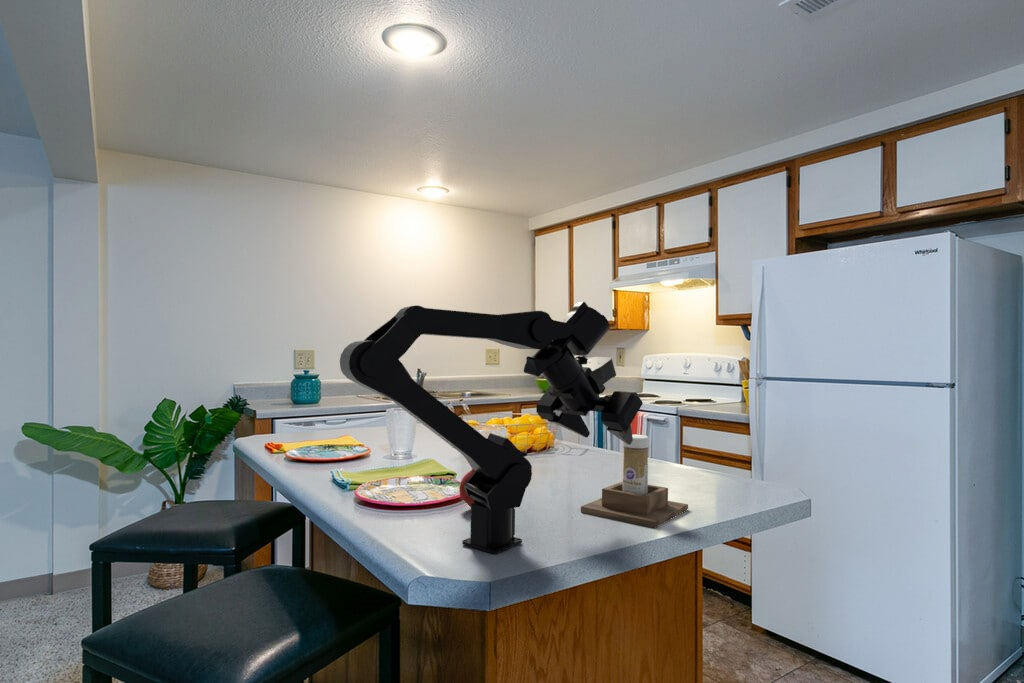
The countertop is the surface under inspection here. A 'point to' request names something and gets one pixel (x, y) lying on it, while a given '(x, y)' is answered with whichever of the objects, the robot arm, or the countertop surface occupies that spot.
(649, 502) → the walnut collar holder
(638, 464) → the sprinkles bottle
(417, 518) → the countertop surface
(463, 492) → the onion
